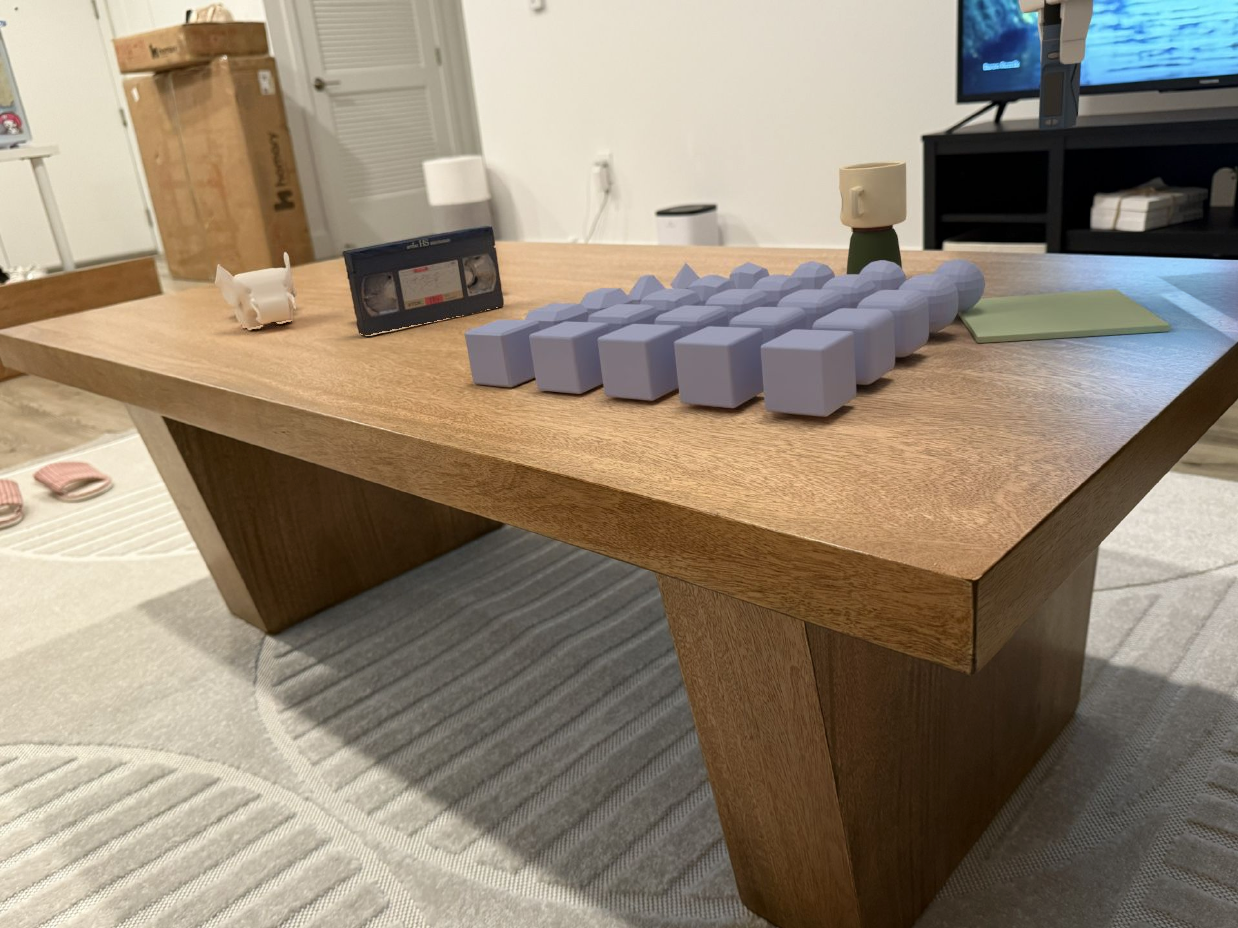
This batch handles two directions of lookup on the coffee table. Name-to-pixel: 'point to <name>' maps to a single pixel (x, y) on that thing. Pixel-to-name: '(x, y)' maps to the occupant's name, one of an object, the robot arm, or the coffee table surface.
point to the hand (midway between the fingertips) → (1061, 64)
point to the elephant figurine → (259, 294)
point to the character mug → (873, 211)
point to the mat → (1059, 316)
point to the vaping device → (1056, 78)
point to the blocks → (730, 335)
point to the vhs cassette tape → (424, 279)
